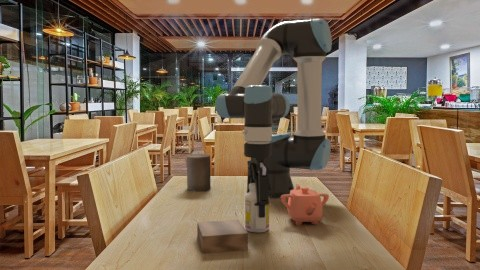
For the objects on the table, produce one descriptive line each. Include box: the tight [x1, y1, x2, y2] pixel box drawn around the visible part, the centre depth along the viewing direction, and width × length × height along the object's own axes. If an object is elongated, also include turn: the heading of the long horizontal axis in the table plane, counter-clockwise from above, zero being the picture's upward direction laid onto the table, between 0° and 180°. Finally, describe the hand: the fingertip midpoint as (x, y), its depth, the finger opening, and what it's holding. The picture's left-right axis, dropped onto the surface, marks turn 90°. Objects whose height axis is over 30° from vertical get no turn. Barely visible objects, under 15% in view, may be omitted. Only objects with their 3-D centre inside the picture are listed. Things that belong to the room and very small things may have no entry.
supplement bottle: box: [244, 183, 270, 234], centre depth 110 cm, size 7×7×13 cm
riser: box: [196, 219, 249, 254], centre depth 100 cm, size 11×11×4 cm
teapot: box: [280, 183, 330, 226], centre depth 118 cm, size 14×12×10 cm
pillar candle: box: [186, 152, 212, 192], centre depth 161 cm, size 10×10×15 cm
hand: (257, 224), depth 110 cm, fingers open, 7 cm apart
